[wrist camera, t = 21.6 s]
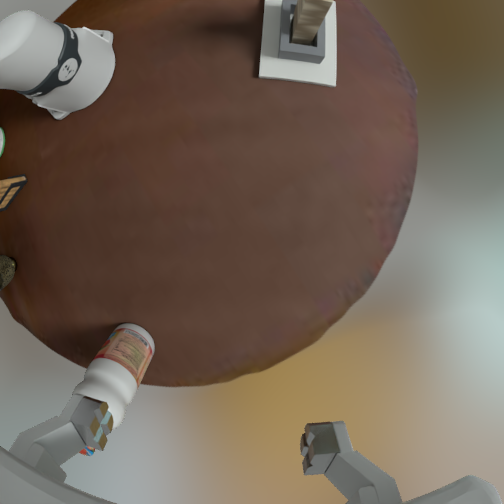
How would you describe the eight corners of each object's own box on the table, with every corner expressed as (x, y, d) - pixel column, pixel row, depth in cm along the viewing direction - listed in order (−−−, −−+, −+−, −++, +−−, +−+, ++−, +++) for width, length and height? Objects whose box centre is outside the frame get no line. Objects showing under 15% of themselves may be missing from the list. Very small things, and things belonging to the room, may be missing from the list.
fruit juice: (158, 361, 54) (115, 471, 27) (118, 354, 53) (63, 452, 27) (153, 325, 51) (95, 439, 24) (111, 318, 50) (39, 416, 24)
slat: (290, 44, 35) (306, -3, 20) (291, 20, 33) (306, -30, 19) (309, 46, 35) (332, 2, 20) (309, 23, 33) (331, -25, 19)
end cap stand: (258, 77, 37) (259, 69, 33) (265, -6, 32) (266, -19, 28) (334, 87, 38) (342, 80, 33) (334, 4, 32) (340, -8, 28)
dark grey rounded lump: (26, 261, 47) (3, 275, 39) (20, 284, 49) (-1, 298, 41) (8, 242, 45) (-15, 252, 38) (2, 264, 47) (-18, 276, 40)
